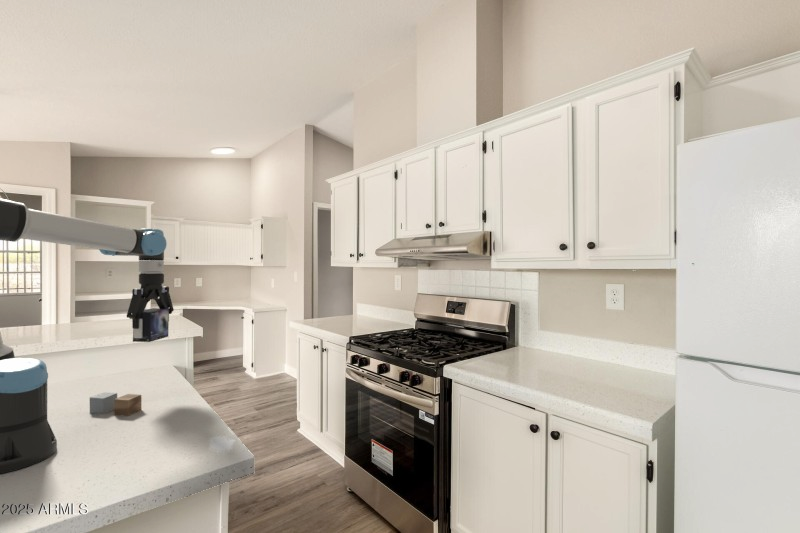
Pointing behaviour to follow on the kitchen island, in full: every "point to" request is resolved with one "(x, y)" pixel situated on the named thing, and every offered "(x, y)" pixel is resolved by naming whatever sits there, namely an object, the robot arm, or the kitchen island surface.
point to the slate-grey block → (102, 403)
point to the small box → (153, 325)
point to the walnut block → (127, 404)
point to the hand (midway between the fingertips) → (151, 334)
